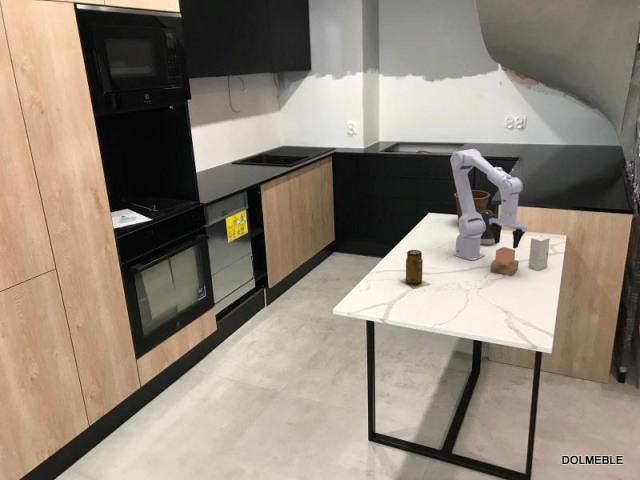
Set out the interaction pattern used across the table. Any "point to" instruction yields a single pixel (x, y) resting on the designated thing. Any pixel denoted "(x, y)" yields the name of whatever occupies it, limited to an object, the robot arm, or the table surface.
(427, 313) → the table surface
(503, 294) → the table surface
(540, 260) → the skincare box
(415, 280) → the condiment
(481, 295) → the table surface
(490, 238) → the dark grey rounded figure
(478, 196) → the plant pot
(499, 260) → the terracotta cube
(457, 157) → the robot arm
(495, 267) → the walnut block
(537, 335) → the table surface
